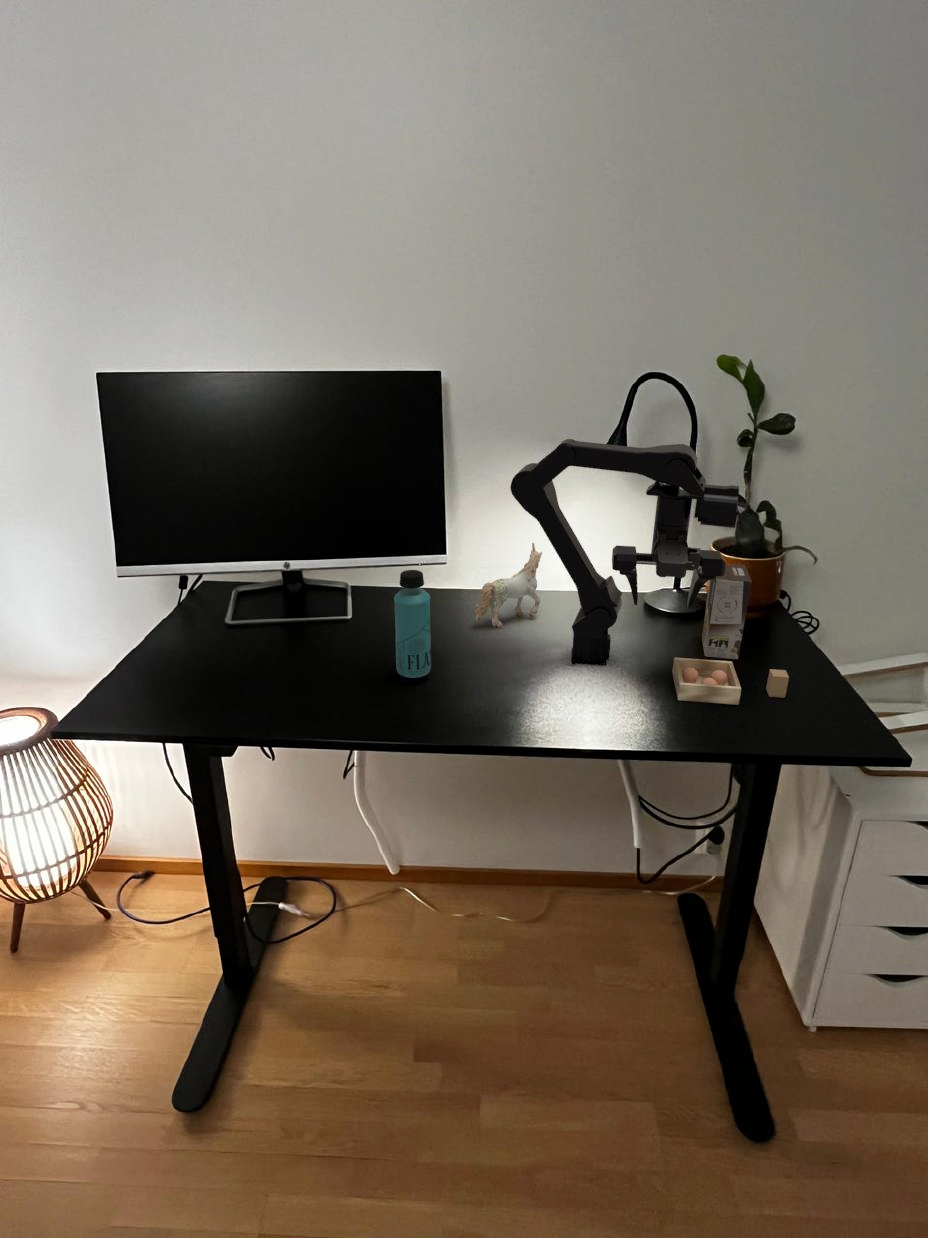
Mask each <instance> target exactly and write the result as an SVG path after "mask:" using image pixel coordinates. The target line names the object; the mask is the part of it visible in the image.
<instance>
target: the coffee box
mask: <svg viewBox="0 0 928 1238" xmlns="http://www.w3.org/2000/svg"><path fill="white" fill-rule="evenodd" d="M725 566H726V567H725V573H724V576H716V578H715V580H709V581H708V587H707V588H708V590H707V591H708V592H707V597H706V604H705V605H706V606H705V612H704V619H703V627H702V633H701V641H702V648H703V654H704V657H710V658H719V659H731V660H739V656H740V651H741V645H742V640H743V634H744V633H743V632H744V627H745V621H746V616H747V609H748V603H749V598H750V593H751V587H752V586H751V585H752V584H753V583H752V582H753V581H752V578H751V577H750V573H749V570H748V568H747V566H746V565H745V564H735V563H733V564H732V563H725Z"/></svg>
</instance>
